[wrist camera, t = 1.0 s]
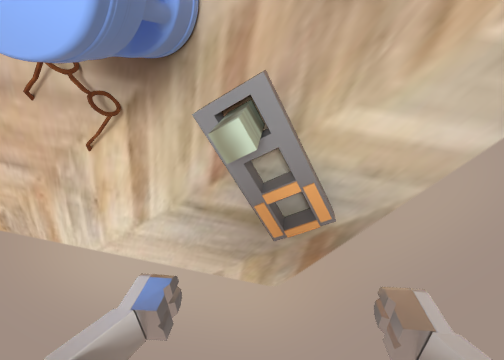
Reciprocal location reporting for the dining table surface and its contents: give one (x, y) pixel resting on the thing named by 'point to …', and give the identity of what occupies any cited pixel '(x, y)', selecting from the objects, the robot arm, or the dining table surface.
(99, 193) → the dining table surface
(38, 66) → the glasses
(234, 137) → the peg
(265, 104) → the board
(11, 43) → the water jug
